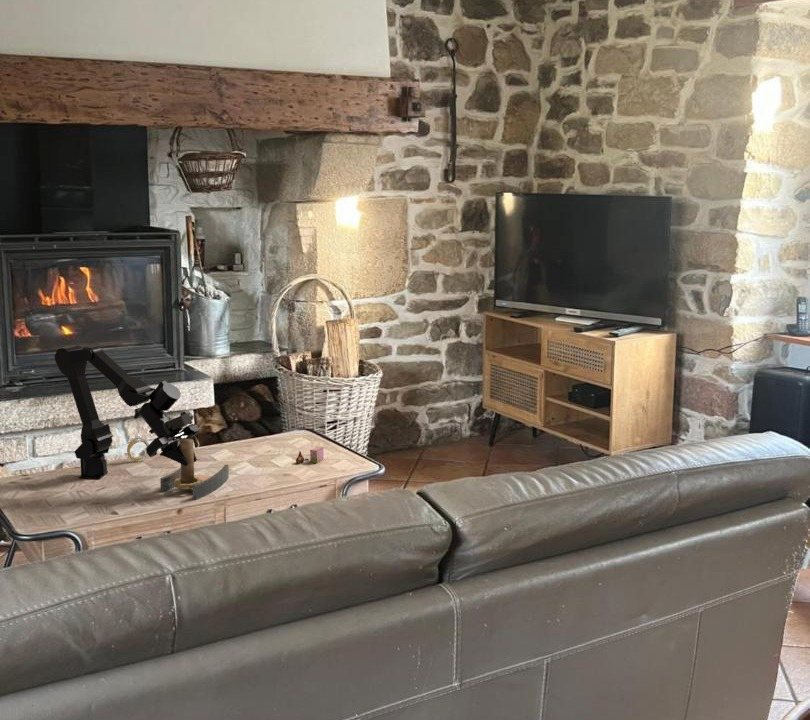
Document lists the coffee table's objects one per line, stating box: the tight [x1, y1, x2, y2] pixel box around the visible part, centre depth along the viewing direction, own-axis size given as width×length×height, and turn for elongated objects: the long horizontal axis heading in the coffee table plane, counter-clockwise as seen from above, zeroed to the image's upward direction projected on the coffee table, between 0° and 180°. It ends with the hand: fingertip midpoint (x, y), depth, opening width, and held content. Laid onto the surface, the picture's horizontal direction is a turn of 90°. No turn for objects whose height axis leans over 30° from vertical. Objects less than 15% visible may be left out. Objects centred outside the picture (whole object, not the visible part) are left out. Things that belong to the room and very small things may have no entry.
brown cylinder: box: [174, 438, 202, 490], centre depth 274 cm, size 7×7×13 cm
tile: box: [194, 474, 213, 483], centre depth 285 cm, size 8×8×1 cm
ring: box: [126, 435, 150, 463], centre depth 302 cm, size 7×3×8 cm, turn 118°
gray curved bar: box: [159, 464, 230, 501], centre depth 278 cm, size 16×21×4 cm
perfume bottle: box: [295, 446, 325, 465], centre depth 303 cm, size 12×12×4 cm
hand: (191, 463), depth 273 cm, fingers closed on brown cylinder, 4 cm apart
